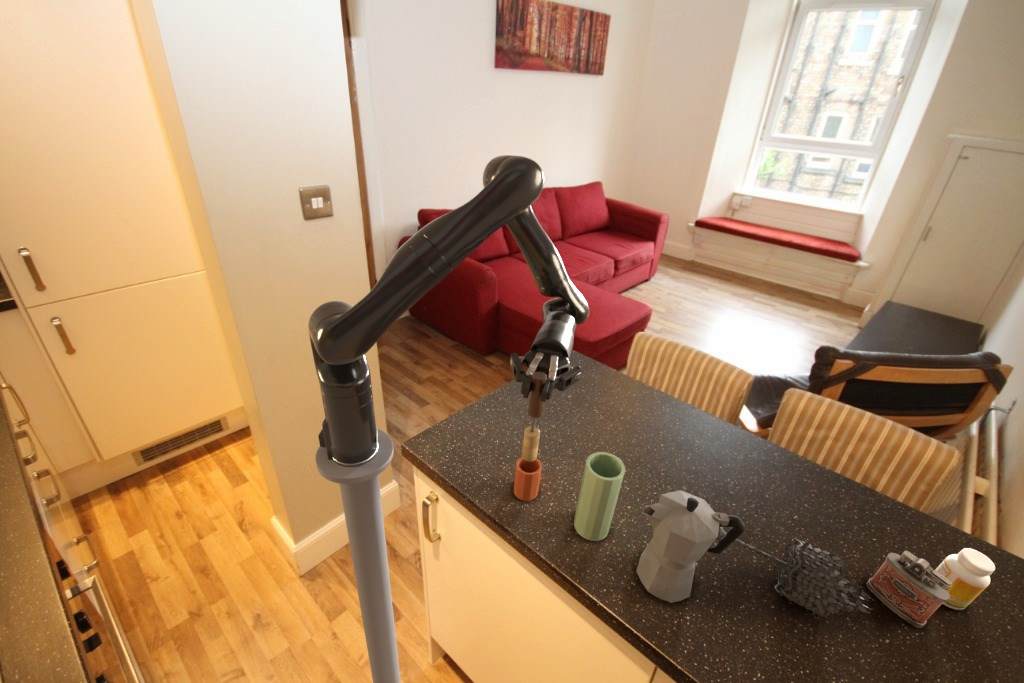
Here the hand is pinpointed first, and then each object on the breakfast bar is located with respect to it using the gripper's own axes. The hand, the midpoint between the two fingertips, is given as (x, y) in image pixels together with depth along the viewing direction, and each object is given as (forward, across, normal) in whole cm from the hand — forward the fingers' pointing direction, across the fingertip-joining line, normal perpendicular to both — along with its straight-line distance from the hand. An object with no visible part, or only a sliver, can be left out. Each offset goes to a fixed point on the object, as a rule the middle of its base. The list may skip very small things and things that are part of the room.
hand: (534, 395), depth 72 cm
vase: (+1, +13, +25) cm, 29 cm away
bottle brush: (-3, 0, +16) cm, 16 cm away
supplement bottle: (-3, +72, +25) cm, 76 cm away
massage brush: (+3, +45, +25) cm, 51 cm away
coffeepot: (+7, +27, +25) cm, 38 cm away
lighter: (+1, +63, +25) cm, 68 cm away
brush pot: (-3, 0, +25) cm, 25 cm away
